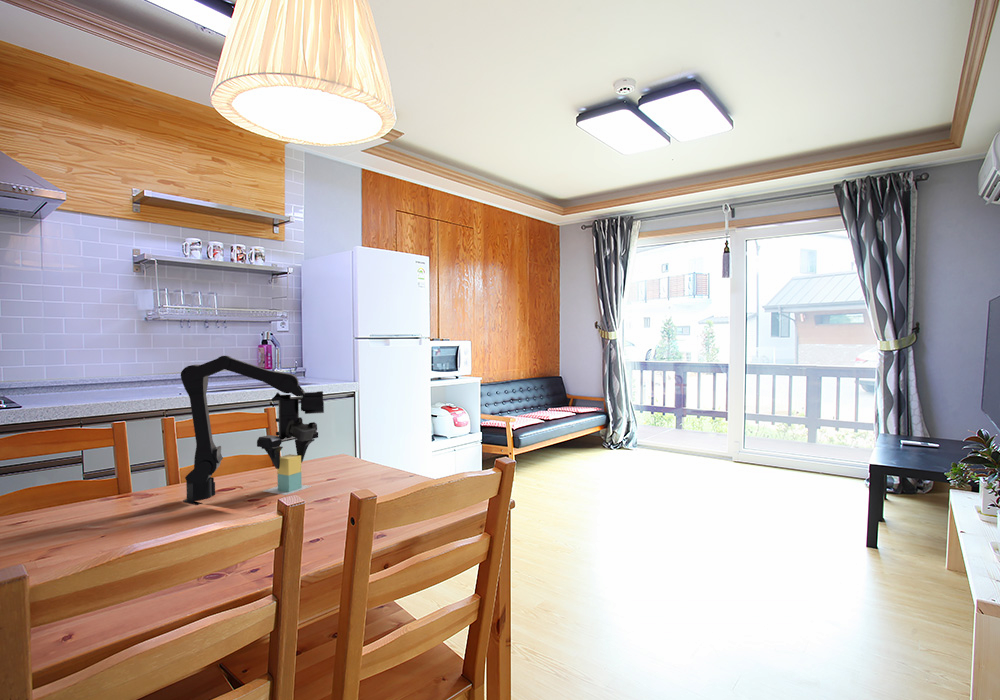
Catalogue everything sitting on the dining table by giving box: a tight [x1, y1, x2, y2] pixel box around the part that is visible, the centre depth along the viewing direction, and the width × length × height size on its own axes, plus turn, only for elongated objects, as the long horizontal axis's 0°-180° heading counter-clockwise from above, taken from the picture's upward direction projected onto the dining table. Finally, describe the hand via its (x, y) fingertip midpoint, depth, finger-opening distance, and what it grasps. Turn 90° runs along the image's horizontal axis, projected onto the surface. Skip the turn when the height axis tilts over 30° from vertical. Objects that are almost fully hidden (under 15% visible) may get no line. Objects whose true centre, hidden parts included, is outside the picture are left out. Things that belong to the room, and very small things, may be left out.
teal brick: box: [277, 471, 303, 492], centre depth 155 cm, size 5×5×5 cm
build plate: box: [263, 484, 312, 496], centre depth 156 cm, size 10×10×1 cm
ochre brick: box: [276, 453, 302, 475], centre depth 155 cm, size 5×5×5 cm
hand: (289, 465), depth 155 cm, fingers open, 8 cm apart
